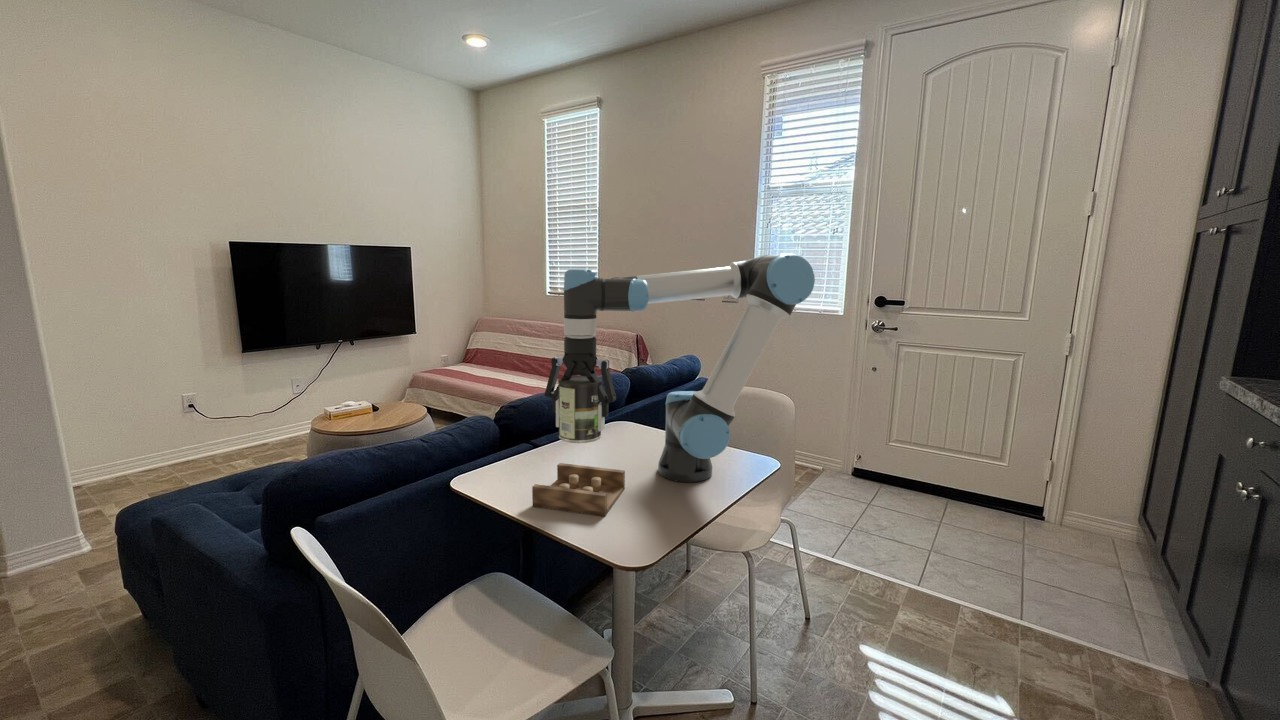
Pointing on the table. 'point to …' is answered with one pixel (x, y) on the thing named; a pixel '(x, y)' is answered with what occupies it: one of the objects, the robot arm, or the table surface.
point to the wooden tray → (581, 490)
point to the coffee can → (578, 410)
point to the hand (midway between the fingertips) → (580, 427)
